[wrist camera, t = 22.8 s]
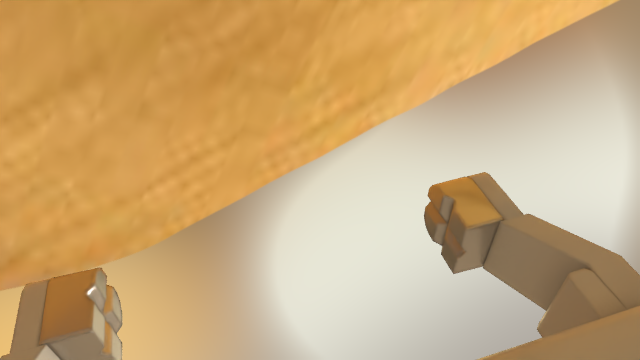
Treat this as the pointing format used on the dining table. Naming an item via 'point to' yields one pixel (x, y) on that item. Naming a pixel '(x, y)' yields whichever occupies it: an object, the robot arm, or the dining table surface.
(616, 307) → the robot arm
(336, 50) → the dining table surface
